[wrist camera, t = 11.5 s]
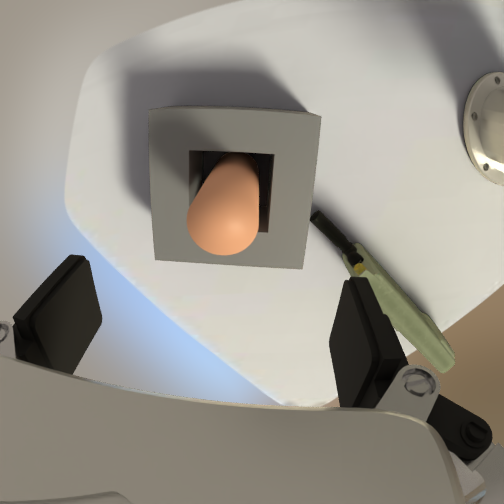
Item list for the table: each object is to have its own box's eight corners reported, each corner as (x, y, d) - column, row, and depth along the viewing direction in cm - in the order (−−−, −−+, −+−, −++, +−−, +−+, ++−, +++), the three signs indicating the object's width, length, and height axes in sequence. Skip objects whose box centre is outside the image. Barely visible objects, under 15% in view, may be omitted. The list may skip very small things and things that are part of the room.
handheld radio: (420, 343, 38) (298, 222, 31) (438, 328, 37) (323, 198, 30) (439, 377, 32) (310, 253, 25) (460, 360, 31) (341, 224, 24)
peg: (260, 152, 28) (261, 190, 17) (257, 195, 29) (256, 257, 19) (214, 150, 27) (186, 186, 17) (213, 192, 29) (187, 253, 19)
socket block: (308, 112, 26) (321, 116, 20) (295, 237, 31) (302, 269, 26) (170, 106, 26) (148, 109, 20) (172, 230, 31) (155, 259, 26)
